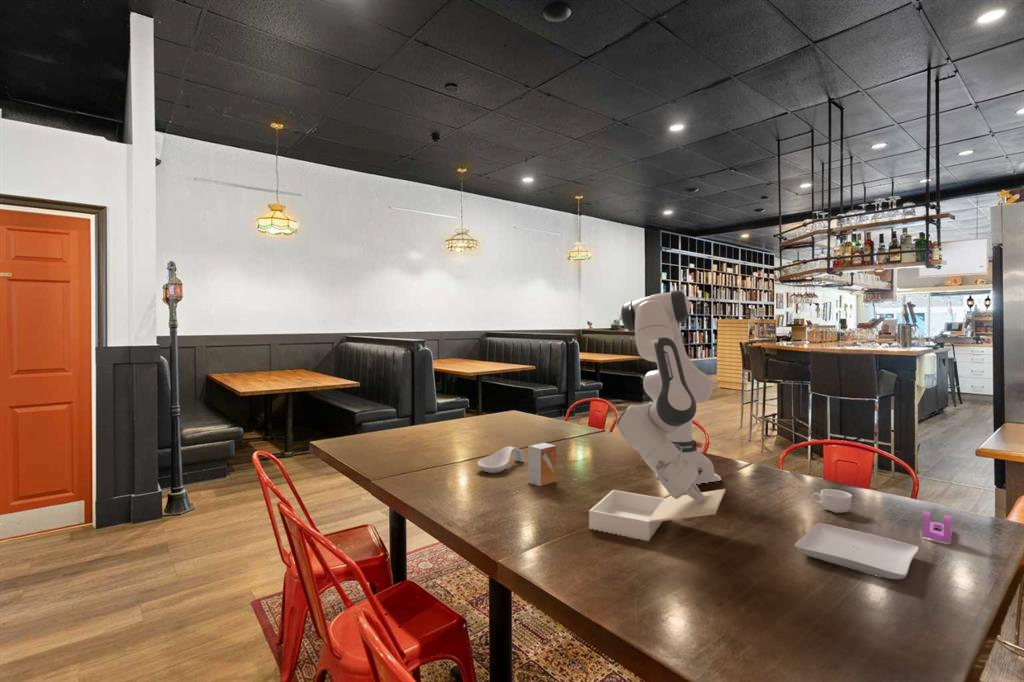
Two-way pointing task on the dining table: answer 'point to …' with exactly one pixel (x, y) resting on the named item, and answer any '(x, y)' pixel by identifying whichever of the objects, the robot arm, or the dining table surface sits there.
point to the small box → (541, 464)
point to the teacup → (834, 500)
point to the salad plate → (858, 550)
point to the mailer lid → (689, 506)
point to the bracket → (938, 535)
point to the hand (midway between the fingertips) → (701, 500)
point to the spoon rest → (500, 460)
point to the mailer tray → (626, 515)
